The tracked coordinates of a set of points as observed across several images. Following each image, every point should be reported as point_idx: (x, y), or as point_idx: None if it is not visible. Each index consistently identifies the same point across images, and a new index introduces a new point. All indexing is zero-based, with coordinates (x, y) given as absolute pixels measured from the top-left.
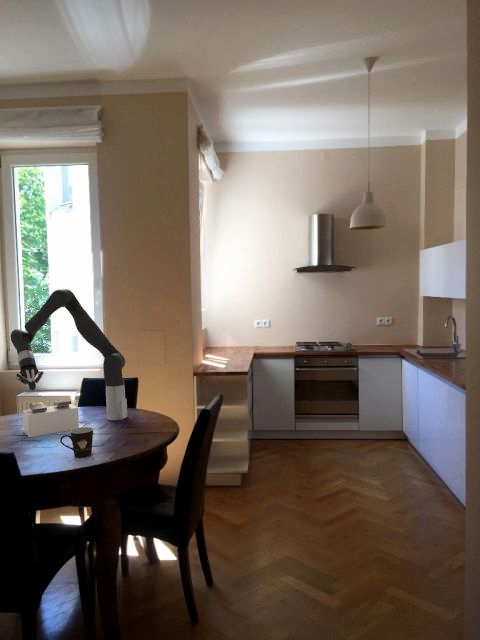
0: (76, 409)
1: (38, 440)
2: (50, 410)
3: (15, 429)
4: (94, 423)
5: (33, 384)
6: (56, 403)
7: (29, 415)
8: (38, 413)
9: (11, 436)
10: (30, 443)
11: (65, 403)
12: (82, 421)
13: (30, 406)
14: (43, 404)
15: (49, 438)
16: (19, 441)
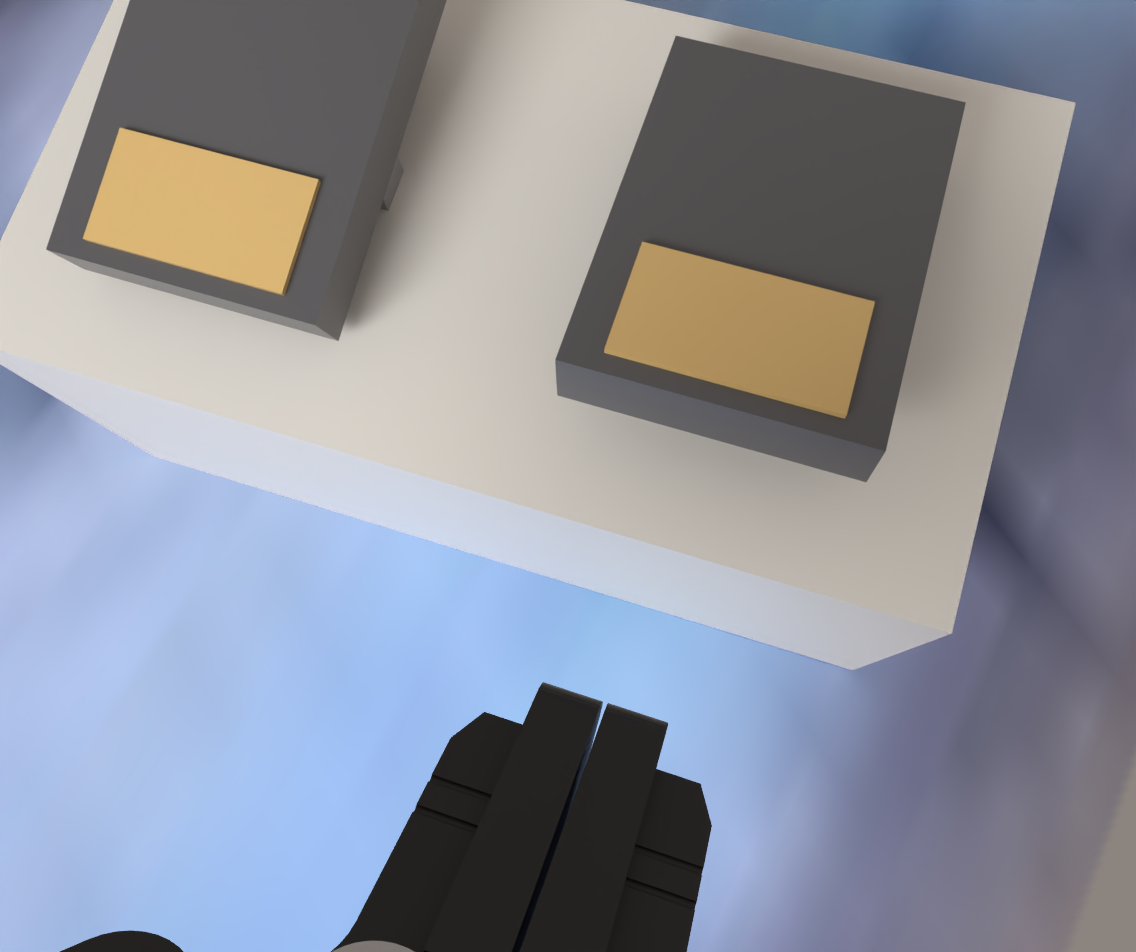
0: None
1: (927, 65)
2: (586, 107)
3: (887, 936)
4: (7, 176)
5: (515, 812)
6: (396, 86)
7: (1044, 102)
8: (864, 75)
9: (1106, 564)
10: (1057, 29)
11: None
12: (4, 417)
13: (910, 329)
14: (638, 209)
15: (789, 33)
16: (1123, 222)
